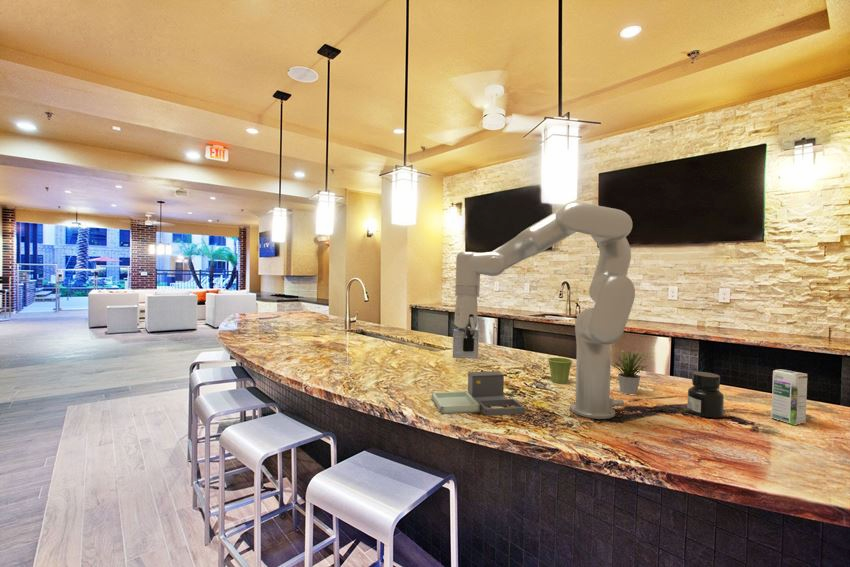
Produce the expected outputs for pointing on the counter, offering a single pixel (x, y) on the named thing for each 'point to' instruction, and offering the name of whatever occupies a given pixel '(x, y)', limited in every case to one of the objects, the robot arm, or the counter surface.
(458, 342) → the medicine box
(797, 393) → the syrup box
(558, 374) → the plant pot
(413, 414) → the counter surface
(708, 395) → the ink bottle
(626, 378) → the house plant
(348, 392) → the counter surface
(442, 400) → the tray
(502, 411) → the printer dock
